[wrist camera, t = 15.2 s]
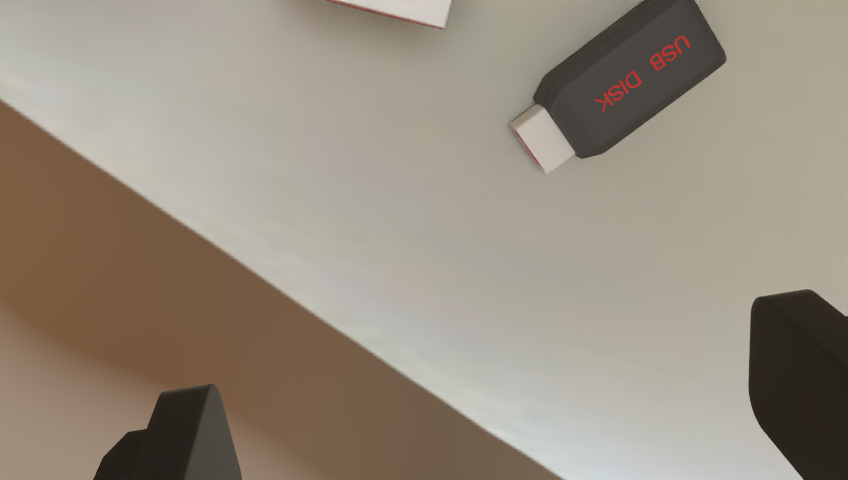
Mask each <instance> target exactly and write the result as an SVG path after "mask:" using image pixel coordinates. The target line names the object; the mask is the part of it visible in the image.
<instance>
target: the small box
mask: <svg viewBox="0 0 848 480" xmlns="http://www.w3.org/2000/svg"><path fill="white" fill-rule="evenodd" d="M327 1H330V2H334V3H338V4H341V5H345V6H348V7H352V8H356V9H360V10H364V11H368V12H372V13H375V14H380V15H384V16H388V17H392V18H396V19H400V20H404V21H408V22H413V23H417V24H421V25H425V26H430V27H434V28H438V29H445V28H446V25H447V21H448V18H449V14H450V10H451V6H452V3H453V0H327Z"/></svg>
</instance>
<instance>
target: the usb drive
mask: <svg viewBox="0 0 848 480" xmlns="http://www.w3.org/2000/svg"><path fill="white" fill-rule="evenodd" d="M726 60H727V59H726V55H725V52H724V50H723V48H722V47H721V45H720V43H719V42H718V40H717V38H716V36H715V35H714V33H713V31H712V30H711V28H710V26H709V24H708V23H707V21H706V19H705V18H704V16H703V14H702V13H701V11H700V9H699V7H698V6H697V4H696V2H695V1H694V0H644V1H643V2H641V3H640V4H639V5H637V6H636V7H635V8H633V9H632V10H631V11H630V12H628V13H627V14H626V15H624V16H623V17H622V18H620V19H619V20H618V21H616V22H615V23H614V24H612V25H611V26H610V27H608V28H607V29H606V30H604V31H603V32H602V33H600V34H599V35H598V36H596V37H595V38H594V39H592V40H591V41H590V42H589V43H587V44H586V45H585V46H583V47H582V48H581V49H579V50H578V51H577V52H575V53H574V54H573V55H571V56H570V57H569V58H567V59H566V60H565V61H563V62H562V63H561V64H559V65H558V66H557V67H555V68H554V69H553V70H552V71H550V72H549V73H548V74H546V75H545V76H544V78H543V79H542V81H541V83H540V85H539V87H538V89H537V91H536V93H535V95H534V97H533V99H534V100H535V102H536V103H537V104H535V105H534V106H533V107H531V108H530V109H529V110H527V111H526V112H525V113H523V114H522V115H521V116H519V117H518V118H517V119H515V120H514V121H513V122H511V123H510V124H509V125H510V127H511V128H512V129H513V131H514V132H515V134H516V135H517V136H518V138H519V139H520V141H521V142H522V143H523V145H524V146H525V148H526V149H527V151H528V152H529V153H530V155H531V156H532V158H533V159H534V160H535V162H536V163H537V165H538V166H539V167H540V169H541V170H543V171H544V172H545V173H546V174H547V175H548V174H549V173H550V172H552V171H553V170H554V169H556V168H557V167H558V166H560V165H561V164H562V163H564V162H565V161H567V160H568V159H569V158H571V157H572V156H573V155H576V156H578V157H579V158H581V159H583V158H587V157H591V156H596V155H599V154H602V153H604V152H606V151H607V150H609V149H610V148H611V147H613V146H614V145H615V144H617V143H618V142H620V141H621V140H622V139H624V138H625V137H626V136H628V135H629V134H630V133H632V132H633V131H634V130H636V129H637V128H639V127H640V126H641V125H643V124H644V123H645V122H647V121H648V120H649V119H651V118H652V117H653V116H655V115H656V114H657V113H659V112H660V111H662V110H663V109H664V108H666V107H667V106H668V105H670V104H671V103H672V102H674V101H675V100H676V99H678V98H679V97H680V96H682V95H683V94H685V93H686V92H687V91H689V90H690V89H691V88H693V87H694V86H695V85H697V84H698V83H699V82H701V81H702V80H704V79H705V78H706V77H708V76H709V75H710V74H712V73H713V72H714V71H716V70H717V69H718V68H719V67H721V66H722V65H723V64H724V63H725V62H726Z"/></svg>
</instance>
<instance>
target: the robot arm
mask: <svg viewBox="0 0 848 480" xmlns="http://www.w3.org/2000/svg"><path fill="white" fill-rule="evenodd" d="M749 396H750V402H751V406H752V409H753V412H754V415H755V417H756V419H757V421H758V423H759V425H760V427H761V428H762V429H763V431H764V432H765V433H766V434H767V435H768V437H769V438H770V439H771V440H772V442H773V443H774V444H775V445H776V446H777V448H778V449H779V450H780V451H781V453H782V454H783V455H784V456H785V457H786V459H787V460H788V461H789V462H790V464H791V465H792V466H793V467H794V468H795V470H796V471H797V472H798V473H799V475H800V476H801V477H802V478H803V479H804V480H848V316H847V317H845V316H844V315H843V314H842V313H840V312H839V311H838V310H837V309H835V308H834V307H833V306H832V305H830V304H829V303H828V302H827V301H825V300H824V299H823V298H822V297H820V296H819V295H818V294H817V293H815V292H814V291H812V290H808V289H806V290H799V291H793V292H787V293H781V294H775V295H768V296H762V297H758V298H757V299H755V301H754V302H753V305H752V309H751V325H750V356H749ZM93 480H242V476H241V471H240V467H239V463H238V459H237V455H236V452H235V448H234V444H233V441H232V437H231V433H230V429H229V425H228V421H227V418H226V414H225V410H224V406H223V403H222V399H221V396H220V393H219V390H218V388H217V387H216V385H214V384H208V385H202V386H195V387H190V388H183V389H177V390H170V391H164V392H162V393H161V394H160V396H159V398H158V400H157V403H156V406H155V408H154V411H153V414H152V417H151V419H150V422H149V424H148V427H147V429H144V430H138V431H132V432H128V433H126V434H125V436H124V437H123V438H122V439H121V440H120V441H119V442H118V443H117V444H116V445H115V446H114V447H113V448H112V449H111V450H110V451H109V452H108V453H107V454H106V455H105V456H104V457H103V459H102V461H101V463H100V466H99V468H98V470H97V472H96V475H95V477H94V479H93Z"/></svg>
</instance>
